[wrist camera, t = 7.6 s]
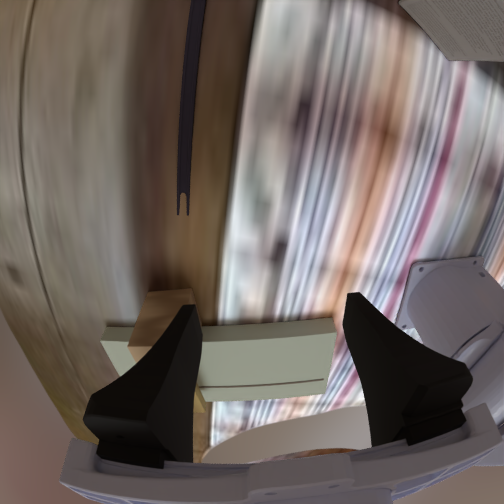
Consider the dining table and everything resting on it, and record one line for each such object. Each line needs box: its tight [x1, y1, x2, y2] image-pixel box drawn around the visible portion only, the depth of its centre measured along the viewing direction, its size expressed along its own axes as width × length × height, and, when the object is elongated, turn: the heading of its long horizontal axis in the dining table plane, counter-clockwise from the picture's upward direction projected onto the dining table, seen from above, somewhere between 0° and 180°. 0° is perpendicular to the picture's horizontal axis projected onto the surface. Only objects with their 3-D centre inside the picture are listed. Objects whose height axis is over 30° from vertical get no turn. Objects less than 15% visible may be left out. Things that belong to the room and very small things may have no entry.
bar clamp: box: [177, 0, 206, 215], centre depth 15 cm, size 32×2×10 cm
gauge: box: [127, 288, 206, 413], centre depth 25 cm, size 4×12×6 cm, turn 7°
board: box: [100, 317, 337, 401], centre depth 28 cm, size 22×10×2 cm, turn 94°
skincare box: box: [398, 0, 504, 62], centre depth 8 cm, size 6×4×12 cm
